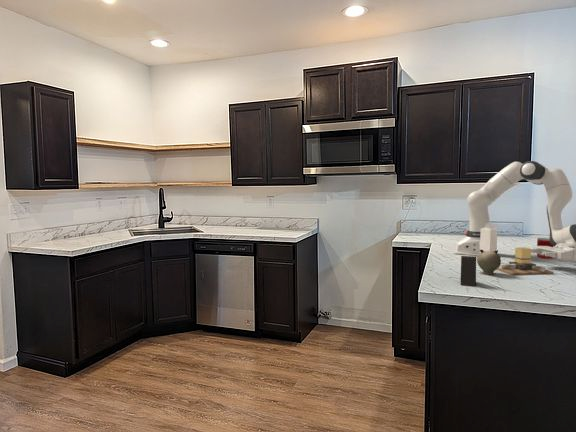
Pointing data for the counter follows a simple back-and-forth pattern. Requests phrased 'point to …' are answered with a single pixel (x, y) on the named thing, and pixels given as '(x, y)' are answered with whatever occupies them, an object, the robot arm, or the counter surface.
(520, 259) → the coupler
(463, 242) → the robot arm
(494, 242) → the milk
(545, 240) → the canned food
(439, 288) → the counter surface
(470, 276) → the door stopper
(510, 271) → the coupling board
